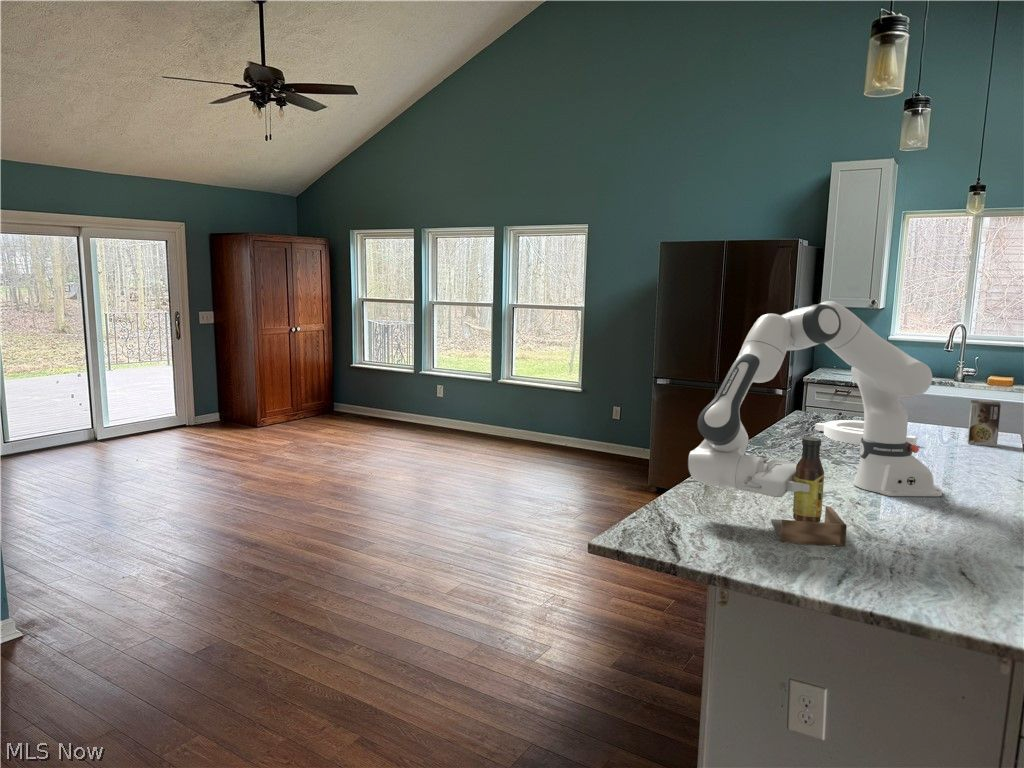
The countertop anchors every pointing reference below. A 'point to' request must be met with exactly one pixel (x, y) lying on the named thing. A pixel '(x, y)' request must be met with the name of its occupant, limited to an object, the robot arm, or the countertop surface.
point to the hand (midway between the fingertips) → (813, 484)
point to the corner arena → (813, 530)
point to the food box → (984, 423)
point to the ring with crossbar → (848, 431)
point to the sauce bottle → (809, 472)
